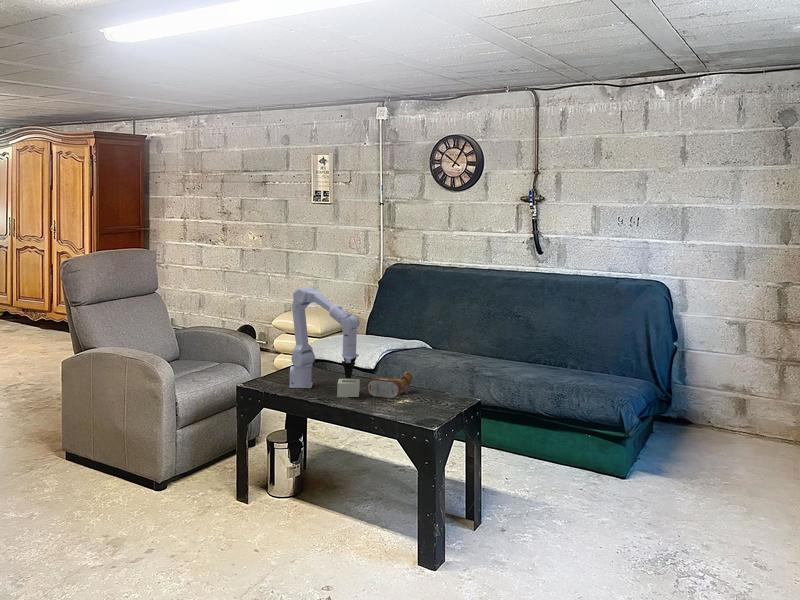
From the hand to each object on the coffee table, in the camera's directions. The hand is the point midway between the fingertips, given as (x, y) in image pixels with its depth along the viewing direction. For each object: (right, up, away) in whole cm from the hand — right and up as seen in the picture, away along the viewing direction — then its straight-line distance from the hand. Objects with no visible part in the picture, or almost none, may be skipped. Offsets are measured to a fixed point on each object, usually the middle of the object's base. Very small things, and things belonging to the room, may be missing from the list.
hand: (348, 375), depth 299 cm
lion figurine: (+21, -9, +7) cm, 24 cm away
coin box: (0, -8, +1) cm, 8 cm away
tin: (+15, -9, -1) cm, 18 cm away
